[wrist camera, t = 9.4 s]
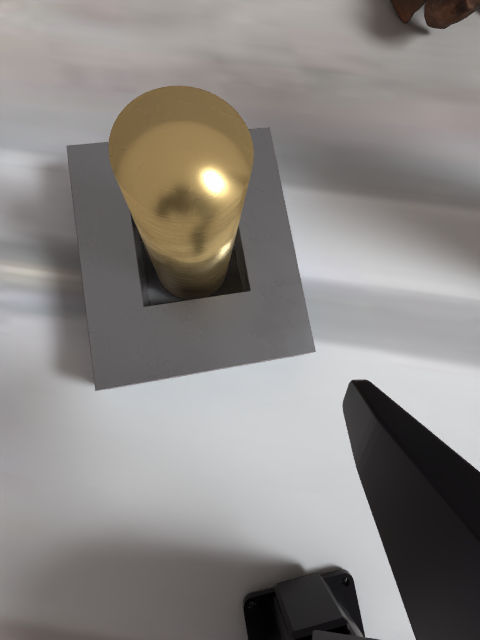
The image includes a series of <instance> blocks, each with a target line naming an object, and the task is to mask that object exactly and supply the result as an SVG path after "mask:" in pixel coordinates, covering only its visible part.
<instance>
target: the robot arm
mask: <svg viewBox="0 0 480 640" xmlns="http://www.w3.org/2000/svg"><path fill="white" fill-rule="evenodd" d="M343 413H344V417H345V421H346V426H347V430H348V434H349V439H350V443H351V448H352V452H353V456H354V460H355V464H356V468H357V471H358V474H359V477H360V480H361V483H362V486H363V489H364V492H365V494H366V497H367V500H368V503H369V506H370V509H371V512H372V515H373V517H374V520H375V523H376V526H377V529H378V532H379V535H380V538H381V540H382V543H383V546H384V549H385V552H386V555H387V558H388V561H389V563H390V566H391V569H392V572H393V575H394V578H395V581H396V584H397V586H398V589H399V592H400V595H401V598H402V601H403V604H404V607H405V609H406V612H407V615H408V618H409V621H410V624H411V627H412V630H413V632H414V635H415V638H416V640H480V472H479V471H478V470H477V469H475V468H474V467H473V466H472V465H471V464H469V463H468V462H467V461H466V460H465V459H463V458H462V457H461V456H460V455H459V454H457V453H456V452H455V451H454V450H452V449H451V448H450V447H449V446H448V445H446V444H445V443H444V442H443V441H442V440H440V439H439V438H438V437H437V436H435V435H434V434H433V433H432V432H431V431H429V430H428V429H427V428H426V427H425V426H423V425H422V424H421V423H420V422H418V421H417V420H416V419H415V418H414V417H412V416H411V415H410V414H409V413H408V412H406V411H405V410H404V409H403V408H401V407H400V406H399V405H398V404H397V403H395V402H394V401H393V400H392V399H391V398H389V397H388V396H387V395H386V394H384V393H383V392H382V391H381V390H380V389H378V388H377V387H376V386H375V385H374V384H372V383H371V382H370V381H368V380H352V381H351V382H350V383H349V385H348V388H347V391H346V394H345V397H344V400H343ZM343 578H347V581H346V582H345V583H341V581H342V579H343ZM251 602H254V603H255V604H256V605H255V606H254V607H253V608H249V607H248V605H249V604H250V603H251ZM243 610H244V616H245V622H246V629H247V635H248V640H378V639H372V638H365V634H364V629H363V624H362V619H361V614H360V609H359V605H358V600H357V595H356V590H355V585H354V580H353V578H352V576H351V575H350V573H349V572H348V571H346V570H337V571H334V572H330V573H326V574H322V575H319V574H317V573H316V574H312V575H308V576H304V577H300V578H296V579H293V580H289V581H285V582H281V583H278V584H277V585H276V586H275V587H273V588H269V589H265V590H261V591H257V592H253V593H250V594H248V595H246V596H245V597H244V600H243Z"/></svg>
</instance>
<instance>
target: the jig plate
mask: <svg viewBox="0 0 480 640" xmlns="http://www.w3.org/2000/svg"><path fill="white" fill-rule="evenodd" d="M248 130H249V132H250V135H251V139H252V142H253V149H254V160H253V167H252V171H251V175H250V179H249V184H248V188H247V192H246V196H245V200H244V204H243V208H242V212H241V217H240V221H239V225H238V229H237V233H236V237H235V241H234V246H235V252H236V257H237V262H238V268H239V273H240V279H241V284H242V290H243V292H241V293H234V294H227V295H221V296H214V297H207V298H201V299H194V300H187V301H181V302H174V303H167V304H161V305H154V306H150V304H149V297H148V290H147V283H146V276H145V269H144V262H143V255H142V248H141V242H140V235H139V231H138V228H137V226H136V224H135V221H134V219H133V217H132V215H131V212H130V210H129V208H128V205H127V203H126V201H125V198H124V196H123V194H122V191H121V189H120V187H119V184H118V182H117V180H116V177H115V175H114V172H113V170H112V167H111V164H110V159H109V149H108V147H109V142H104V143H93V144H82V145H71V146H67V154H68V162H69V171H70V179H71V188H72V196H73V205H74V213H75V222H76V230H77V239H78V247H79V256H80V264H81V272H82V281H83V289H84V298H85V306H86V315H87V323H88V332H89V340H90V349H91V357H92V366H93V374H94V383H95V391H97V390H105V389H112V388H118V387H123V386H129V385H135V384H140V383H146V382H152V381H157V380H163V379H169V378H174V377H180V376H185V375H191V374H197V373H202V372H208V371H214V370H219V369H225V368H231V367H236V366H242V365H248V364H253V363H259V362H264V361H270V360H276V359H281V358H287V357H293V356H298V355H303V354H308V353H312V352H316V351H315V346H314V341H313V337H312V332H311V327H310V322H309V317H308V312H307V307H306V303H305V298H304V293H303V288H302V283H301V278H300V274H299V269H298V264H297V259H296V254H295V249H294V245H293V240H292V235H291V230H290V225H289V220H288V216H287V211H286V206H285V201H284V196H283V191H282V186H281V182H280V177H279V172H278V167H277V162H276V157H275V153H274V148H273V143H272V138H271V133H270V128H258V129H248Z"/></svg>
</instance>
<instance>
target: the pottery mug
mask: <svg viewBox="0 0 480 640" xmlns="http://www.w3.org/2000/svg"><path fill="white" fill-rule="evenodd" d="M390 1H391V3H392V5H393V7H394V9H395V10H396V12H397V14H398V15H399V17H400V18H401V20H402V21H403V22H404V23H406V22H408V21H409V19H410V18H411V17H412V16H413V14H414V13H415V12H416V11H418V10H419V9H420V7H421V6H422V5H423V4H424V3H425V11H424V17H425V20H426V24H427V25H428V26H429V27H432V28H438V29H445V28H447V27H448V26H450V25H451V24H454V23H457V22H459V21H461V20H463V19H464V18H466V17H468V16H469V15H470V14H472V13H473V12H474V11H475V10H476V9H478V8H479V7H480V0H390Z"/></svg>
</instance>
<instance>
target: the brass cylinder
mask: <svg viewBox="0 0 480 640" xmlns="http://www.w3.org/2000/svg"><path fill="white" fill-rule="evenodd" d="M108 149H109V159H110V164H111V167H112V170H113V172H114V175H115V177H116V180H117V182H118V184H119V187H120V189H121V191H122V194H123V196H124V198H125V201H126V203H127V205H128V208H129V210H130V212H131V215H132V217H133V219H134V221H135V224H136V226H137V228H138V231H139V233H140V235H141V238H142V240H143V242H144V245H145V247H146V249H147V252H148V254H149V256H150V259H151V261H152V263H153V266H154V268H155V270H156V273H157V275H158V277H159V280H160V281H161V283H162V285H163V286H164V287H165V288H166V289H167V290H168V291H169V292H170V293H172V294H173V295H175V296H177V297H179V298H183V299H188V300H194V299H201V298H205V297H208V296H209V295H211V294H213V293H214V292H215V291H217V290H218V289H219V288H220V286H221V285H222V283H223V282H224V280H225V277H226V274H227V270H228V266H229V262H230V258H231V254H232V250H233V245H234V241H235V237H236V233H237V229H238V225H239V221H240V217H241V212H242V208H243V204H244V200H245V196H246V192H247V188H248V184H249V179H250V175H251V171H252V167H253V160H254V149H253V142H252V139H251V135H250V132H249V130H248V128H247V126H246V124H245V122H244V121H243V119H242V118H241V116H240V115H239V114H238V112H237V111H236V110H235V109H234V108H233V107H232V106H231V105H229V104H228V103H227V102H225V101H224V100H223V99H221V98H219V97H218V96H216V95H214V94H212V93H210V92H207V91H205V90H202V89H198V88H194V87H187V86H168V87H162V88H158V89H154V90H151V91H149V92H146V93H144V94H142V95H141V96H139V97H137V98H136V99H134V100H133V101H132V102H130V103H129V104H128V105H127V106H126V107H125V108H124V109H123V110H122V112H121V113H120V114H119V116H118V117H117V119H116V121H115V122H114V125H113V127H112V130H111V134H110V138H109V147H108Z"/></svg>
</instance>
